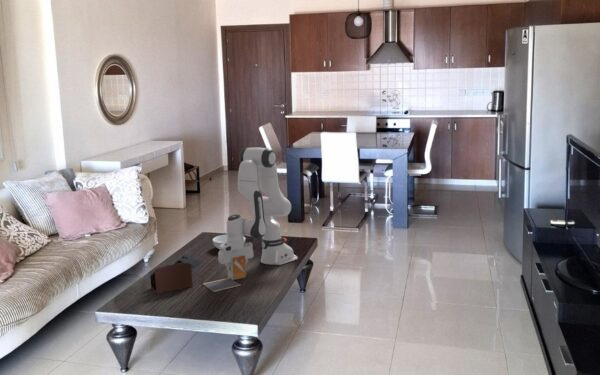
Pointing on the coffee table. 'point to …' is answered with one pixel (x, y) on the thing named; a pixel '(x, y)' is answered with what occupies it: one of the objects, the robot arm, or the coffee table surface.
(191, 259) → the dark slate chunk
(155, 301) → the coffee table surface
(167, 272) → the letter holder
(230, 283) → the mat
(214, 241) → the serving bowl
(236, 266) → the small box
